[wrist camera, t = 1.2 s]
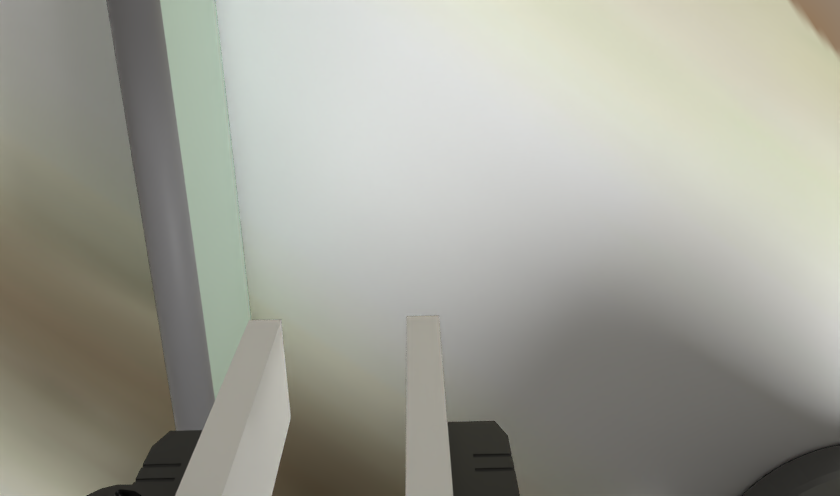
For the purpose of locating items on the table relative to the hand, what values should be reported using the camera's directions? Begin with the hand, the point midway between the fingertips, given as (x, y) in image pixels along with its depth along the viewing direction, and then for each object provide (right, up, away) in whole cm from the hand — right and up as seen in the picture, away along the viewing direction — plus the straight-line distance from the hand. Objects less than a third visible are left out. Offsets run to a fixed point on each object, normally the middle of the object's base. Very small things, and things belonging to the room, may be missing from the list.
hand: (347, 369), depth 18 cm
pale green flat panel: (-7, +7, +16) cm, 19 cm away
